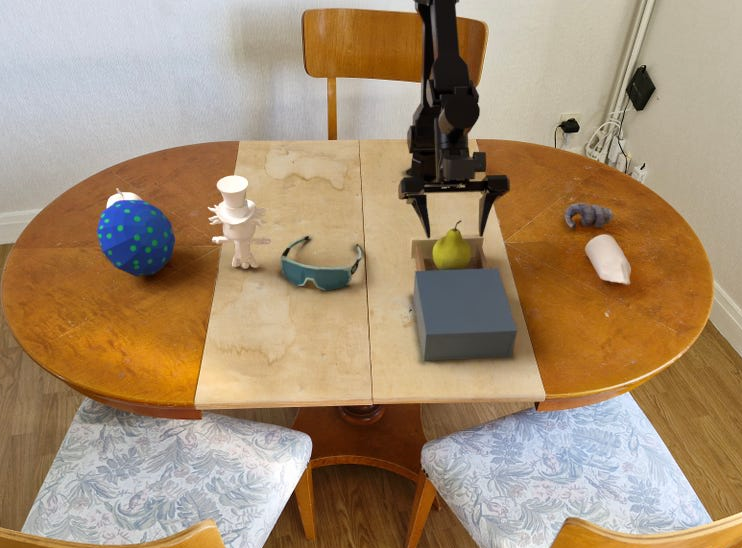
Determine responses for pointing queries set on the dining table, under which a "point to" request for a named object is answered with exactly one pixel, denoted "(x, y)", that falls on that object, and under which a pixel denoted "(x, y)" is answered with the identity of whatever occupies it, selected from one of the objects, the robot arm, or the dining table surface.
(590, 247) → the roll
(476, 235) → the drawer
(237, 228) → the figurine
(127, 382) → the dining table surface
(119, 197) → the plain white apple
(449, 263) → the fruit
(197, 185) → the dining table surface
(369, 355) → the dining table surface
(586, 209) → the seashell
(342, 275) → the sunglasses
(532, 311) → the dining table surface
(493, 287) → the cabinet
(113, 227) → the polka dot ball
